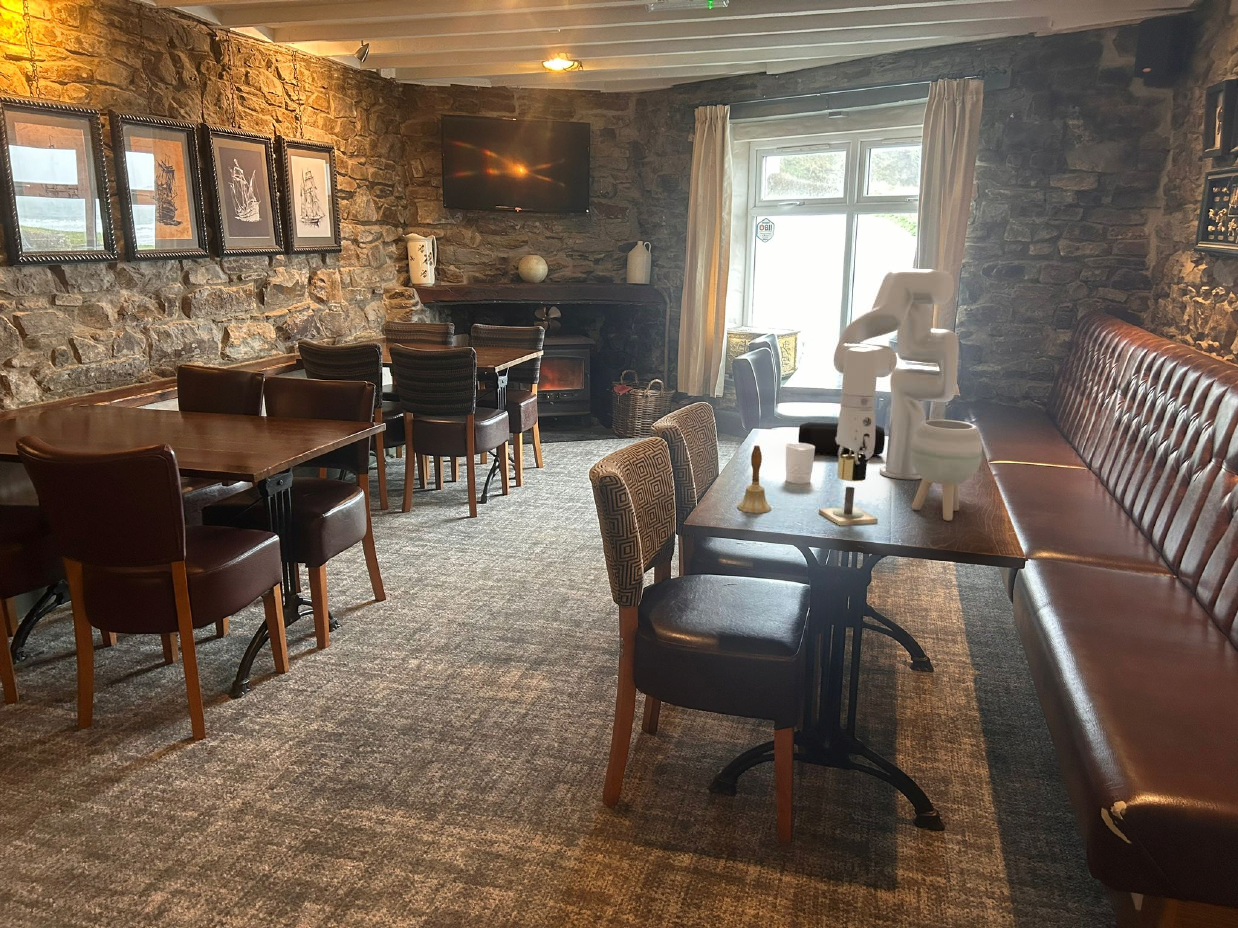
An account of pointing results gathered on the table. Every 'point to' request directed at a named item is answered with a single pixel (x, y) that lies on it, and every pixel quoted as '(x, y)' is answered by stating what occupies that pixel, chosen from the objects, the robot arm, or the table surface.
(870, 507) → the table surface
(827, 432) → the portable speaker
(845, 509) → the post stand
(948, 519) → the planter
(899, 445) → the robot arm
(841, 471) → the collar
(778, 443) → the table surface
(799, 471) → the white cup
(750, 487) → the hand bell
